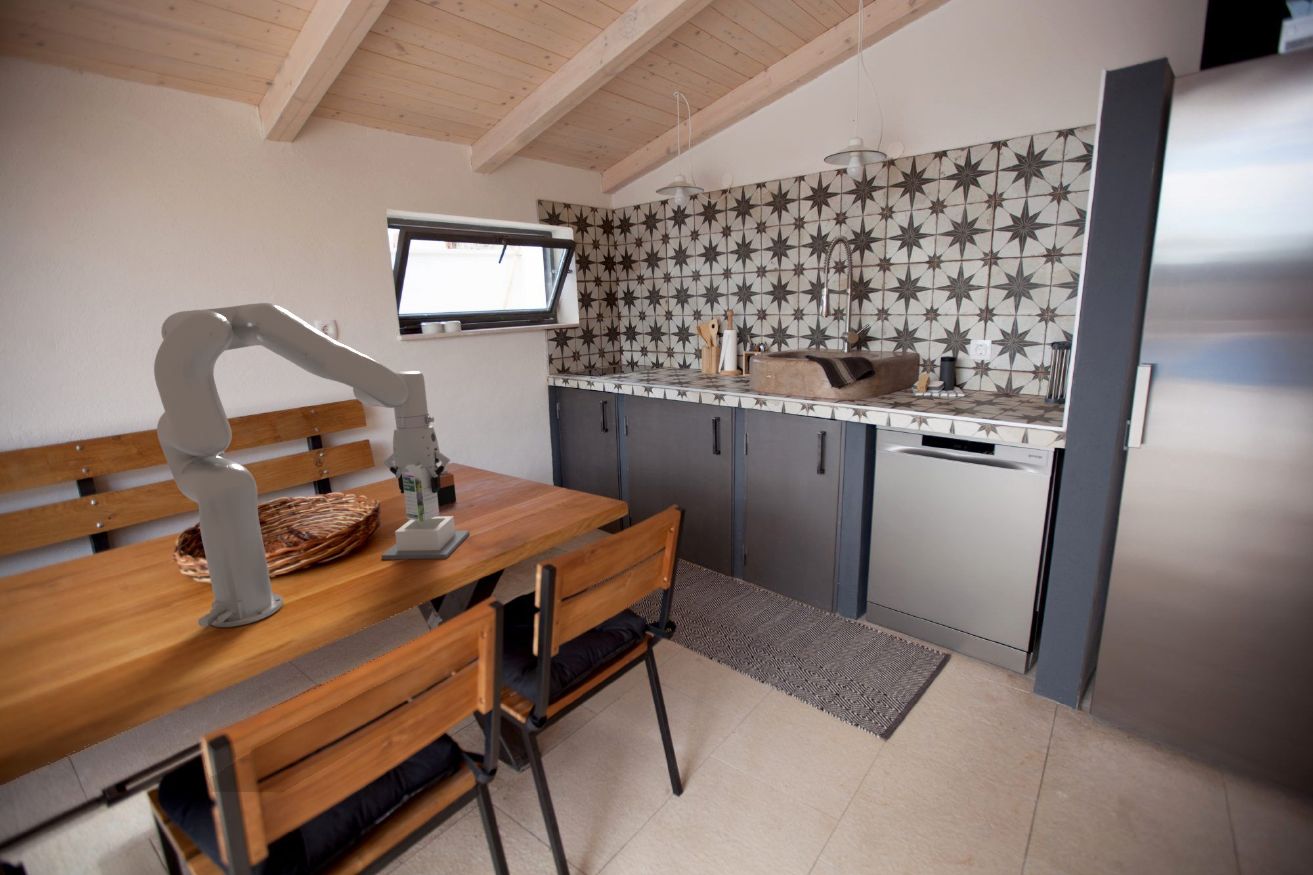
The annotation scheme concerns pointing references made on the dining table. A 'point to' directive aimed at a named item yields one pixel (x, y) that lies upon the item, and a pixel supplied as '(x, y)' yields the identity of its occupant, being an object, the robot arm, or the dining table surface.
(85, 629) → the dining table surface
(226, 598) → the robot arm
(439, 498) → the battery
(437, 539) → the socket
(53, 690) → the dining table surface
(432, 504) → the syrup box
